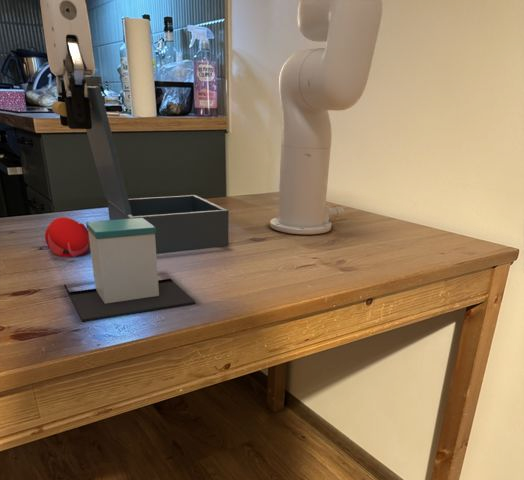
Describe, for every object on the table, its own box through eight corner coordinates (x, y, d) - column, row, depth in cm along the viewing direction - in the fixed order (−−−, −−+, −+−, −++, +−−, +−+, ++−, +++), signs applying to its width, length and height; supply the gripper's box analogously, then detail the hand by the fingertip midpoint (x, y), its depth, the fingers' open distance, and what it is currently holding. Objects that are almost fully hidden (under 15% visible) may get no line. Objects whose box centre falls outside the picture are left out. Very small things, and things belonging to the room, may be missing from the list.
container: (147, 282, 69) (142, 217, 65) (160, 296, 65) (155, 227, 61) (94, 289, 66) (85, 221, 62) (104, 304, 62) (95, 232, 58)
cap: (101, 257, 80) (96, 220, 77) (65, 265, 76) (59, 225, 73) (76, 247, 85) (71, 211, 82) (42, 253, 81) (35, 216, 78)
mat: (163, 273, 74) (163, 271, 74) (195, 303, 64) (195, 301, 64) (64, 286, 68) (64, 284, 68) (82, 321, 58) (82, 319, 58)
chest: (196, 230, 98) (195, 194, 95) (228, 250, 86) (228, 210, 83) (111, 238, 91) (107, 200, 88) (133, 260, 79) (129, 217, 76)
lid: (79, 86, 79) (42, 91, 77) (100, 86, 67) (57, 92, 65) (109, 196, 88) (77, 204, 86) (132, 214, 76) (95, 223, 74)
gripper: (101, -28, 61) (115, 131, 69) (76, -8, 74) (90, 124, 83) (35, -38, 58) (58, 131, 66) (21, -15, 71) (41, 123, 79)
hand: (76, 126), depth 74 cm, fingers closed on lid, 6 cm apart
